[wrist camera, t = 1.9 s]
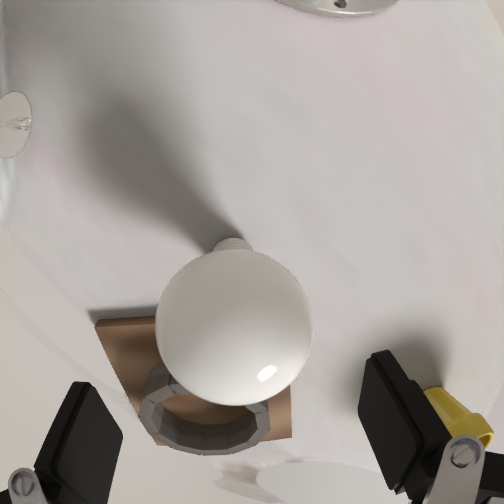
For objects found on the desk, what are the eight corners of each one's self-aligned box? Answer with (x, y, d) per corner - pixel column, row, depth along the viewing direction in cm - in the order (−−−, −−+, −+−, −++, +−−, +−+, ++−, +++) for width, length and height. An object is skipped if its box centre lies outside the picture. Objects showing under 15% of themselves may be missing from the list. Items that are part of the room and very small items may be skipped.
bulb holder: (98, 319, 20) (79, 352, 17) (283, 302, 21) (294, 337, 17) (158, 438, 27) (153, 467, 23) (290, 429, 27) (296, 461, 23)
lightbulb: (172, 280, 20) (128, 412, 9) (201, 190, 18) (159, 270, 7) (260, 308, 21) (282, 444, 11) (298, 225, 19) (369, 332, 9)
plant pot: (420, 370, 25) (464, 440, 16) (469, 375, 27) (508, 427, 18) (366, 432, 29) (391, 498, 20) (421, 429, 30) (448, 482, 21)
